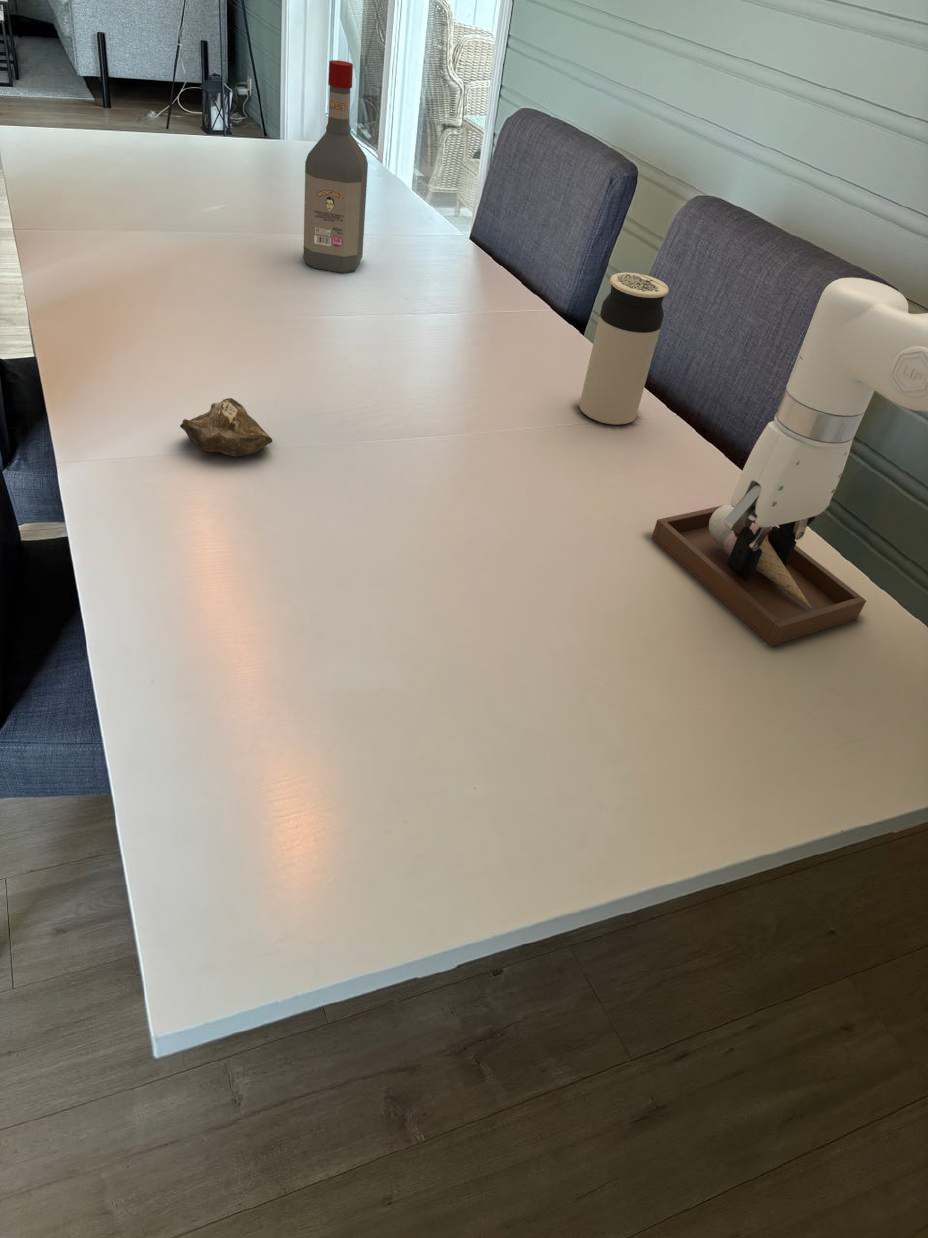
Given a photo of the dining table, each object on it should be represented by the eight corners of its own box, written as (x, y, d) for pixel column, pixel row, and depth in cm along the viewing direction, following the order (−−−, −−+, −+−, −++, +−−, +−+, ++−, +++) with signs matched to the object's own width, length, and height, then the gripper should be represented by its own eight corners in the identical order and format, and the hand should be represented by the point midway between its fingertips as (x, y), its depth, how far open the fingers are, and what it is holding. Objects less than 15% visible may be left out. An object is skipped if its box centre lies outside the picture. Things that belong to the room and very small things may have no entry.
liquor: (353, 275, 154) (365, 72, 135) (300, 266, 154) (304, 62, 135) (364, 258, 161) (376, 63, 142) (313, 249, 161) (318, 53, 142)
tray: (857, 618, 96) (866, 600, 94) (770, 646, 90) (779, 627, 89) (733, 519, 108) (740, 501, 107) (651, 537, 103) (657, 519, 101)
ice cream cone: (824, 606, 97) (730, 510, 103) (835, 586, 93) (736, 488, 99) (790, 630, 97) (697, 532, 103) (799, 611, 92) (702, 511, 98)
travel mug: (600, 429, 122) (633, 296, 110) (567, 402, 127) (596, 272, 116) (646, 422, 125) (683, 292, 114) (613, 396, 130) (645, 269, 119)
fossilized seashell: (163, 434, 102) (241, 472, 101) (185, 378, 100) (265, 416, 100) (193, 439, 109) (266, 475, 108) (214, 387, 108) (288, 423, 107)
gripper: (849, 388, 93) (786, 536, 105) (727, 407, 86) (673, 563, 97) (906, 423, 88) (834, 573, 100) (782, 446, 81) (719, 605, 92)
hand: (755, 567), depth 98 cm, fingers closed on ice cream cone, 4 cm apart
